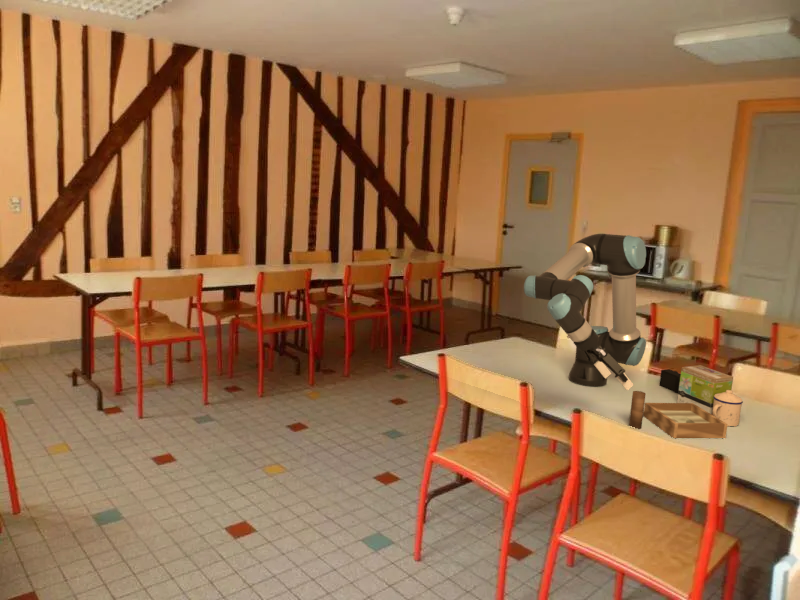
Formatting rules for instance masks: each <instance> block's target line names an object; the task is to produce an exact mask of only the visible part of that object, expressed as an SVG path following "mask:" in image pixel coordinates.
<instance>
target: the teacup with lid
mask: <svg viewBox="0 0 800 600" xmlns="http://www.w3.org/2000/svg"><path fill="white" fill-rule="evenodd" d="M743 403H744V401H743V399H742V398H741V397H739V396H737V395H736V394H735V393H733V390H732V389H731V390H726V392H723V393H718V394H715V395H714V403H713V410H712V415H713V416H715V417H716V418H718V419H720V420H721V421H723V422H725V423H726V424H728V425H727V427H730V426H734V427H737V425H738V426H739V423H740V419H741V412H742V405H743Z"/></svg>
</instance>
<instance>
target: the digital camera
mask: <svg viewBox="0 0 800 600" xmlns="http://www.w3.org/2000/svg"><path fill="white" fill-rule="evenodd" d="M680 376H681V372H679V371H677V370H672V369H670V368H669V369H661V371H660V377H659V378H660V379H659V384H658V385H659V386H660V387H661V388H664V389H667V390H668V391H671V392H673V393H675V394H677V395H678V391H679V384H680Z"/></svg>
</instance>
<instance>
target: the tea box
mask: <svg viewBox="0 0 800 600" xmlns="http://www.w3.org/2000/svg"><path fill="white" fill-rule="evenodd" d="M680 374H681V376H680V384H679V391H678V394H677V400H676V401H677V402H676V403H693V404H695V405H697V406H698V407H700V408H702V409H703V410H705V411H707V412H708V413H710V414H711V415H712V410H713V403H714V395H715V394H718V393H723V392H726V390H731V391H732V389H733V388H732V387H733V383H734V382H733V381H734V376H732V375H730V374H727V373H724V372H721V371H718V370H715V369H712V368H710V367H706V366H704V365H702V364H697V365H691V366H682V367H681V370H680Z"/></svg>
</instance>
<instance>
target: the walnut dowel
mask: <svg viewBox="0 0 800 600" xmlns="http://www.w3.org/2000/svg"><path fill="white" fill-rule="evenodd" d="M646 396H647V395H646V392H645V391H641V390H640V391H639V390H633V391H632V396H631V397H632V398H631V402H630V403H631V406H630V414H629V422H628V426H629V425H630V426H632V427H635V428H638V429H637V430H641V429H642V427H643V418H644V416H643V414H644V406H645V403H646Z"/></svg>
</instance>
